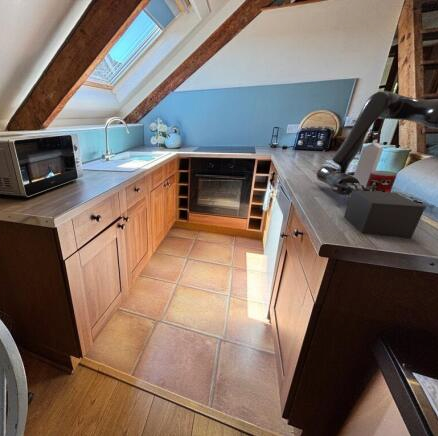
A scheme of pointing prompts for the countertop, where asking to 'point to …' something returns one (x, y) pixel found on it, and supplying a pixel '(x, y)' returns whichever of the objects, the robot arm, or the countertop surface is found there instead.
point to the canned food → (381, 181)
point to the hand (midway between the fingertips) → (362, 195)
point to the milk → (368, 162)
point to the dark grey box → (383, 213)
